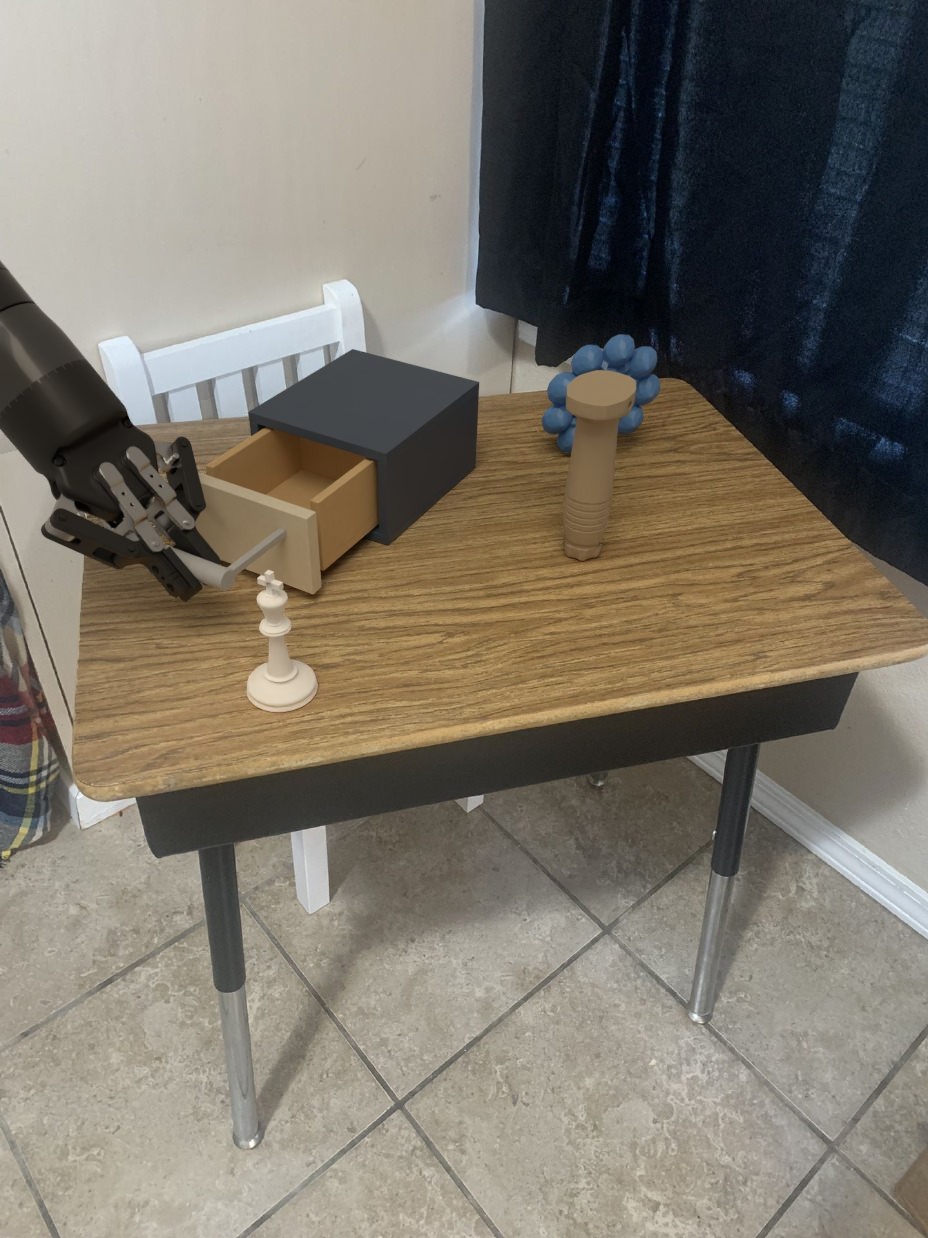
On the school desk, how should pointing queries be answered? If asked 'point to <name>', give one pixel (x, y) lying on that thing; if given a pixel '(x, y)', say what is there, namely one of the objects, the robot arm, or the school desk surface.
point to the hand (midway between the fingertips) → (204, 586)
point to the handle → (593, 457)
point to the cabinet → (386, 428)
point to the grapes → (613, 358)
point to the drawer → (282, 509)
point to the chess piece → (278, 657)
